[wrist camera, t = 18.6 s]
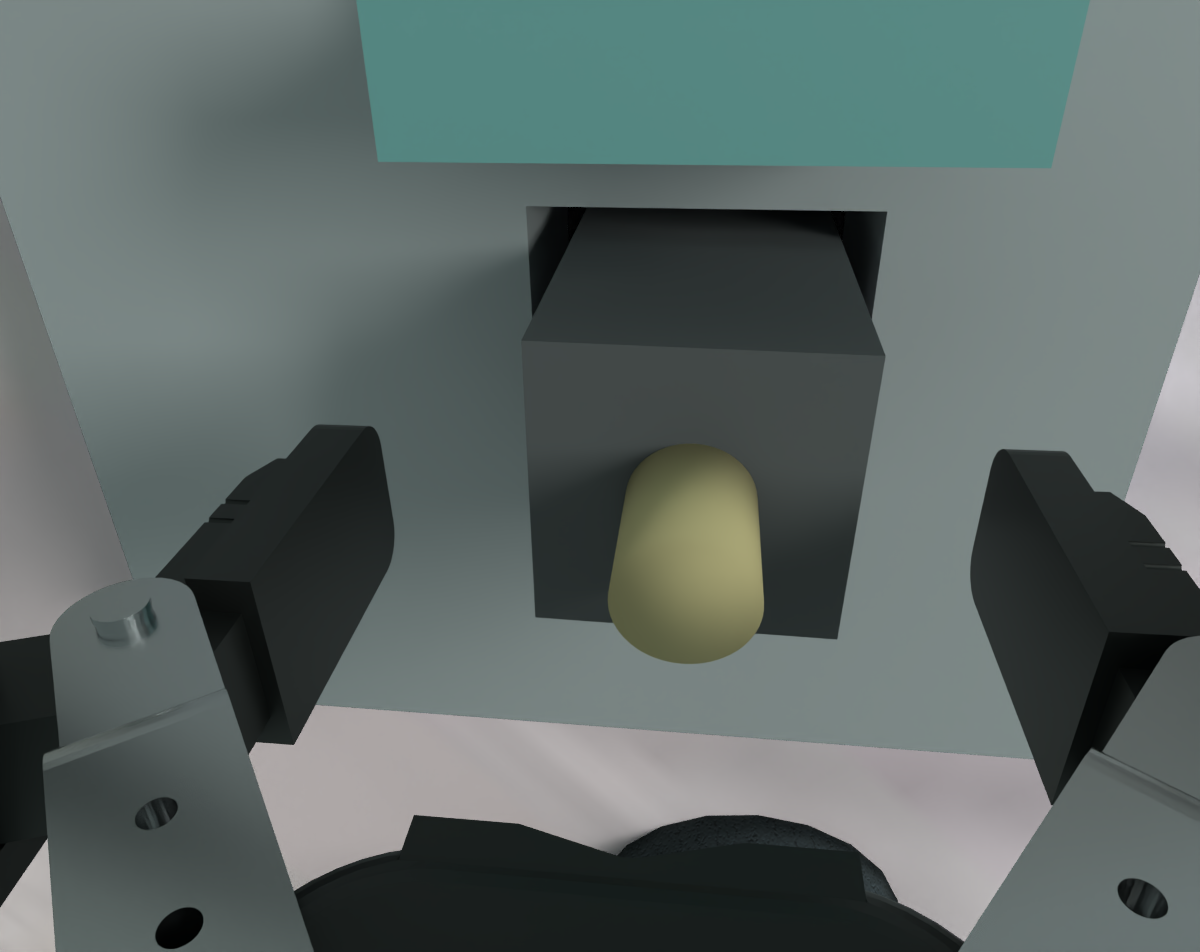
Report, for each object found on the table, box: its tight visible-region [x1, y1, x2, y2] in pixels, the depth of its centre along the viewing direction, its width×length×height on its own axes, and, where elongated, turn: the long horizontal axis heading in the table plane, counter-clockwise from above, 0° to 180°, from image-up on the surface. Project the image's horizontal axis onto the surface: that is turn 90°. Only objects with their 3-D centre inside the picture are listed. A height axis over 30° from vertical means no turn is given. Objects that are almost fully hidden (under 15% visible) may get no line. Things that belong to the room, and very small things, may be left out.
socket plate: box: [0, 0, 1200, 759], centre depth 16 cm, size 16×18×4 cm
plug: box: [521, 207, 886, 664], centre depth 14 cm, size 4×4×10 cm
